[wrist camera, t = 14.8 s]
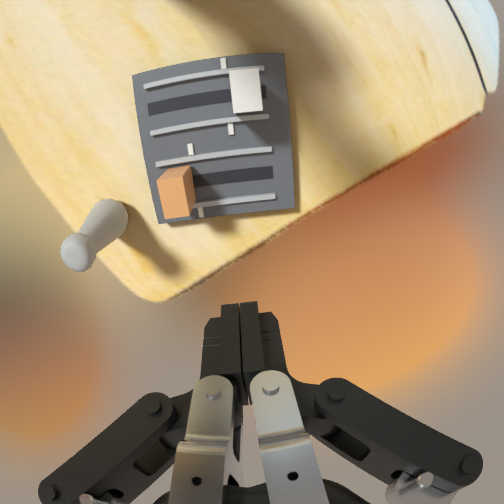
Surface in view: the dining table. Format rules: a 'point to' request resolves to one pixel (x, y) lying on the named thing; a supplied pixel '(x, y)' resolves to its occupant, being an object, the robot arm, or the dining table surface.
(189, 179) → the block
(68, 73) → the dining table surface
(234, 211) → the console
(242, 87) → the fader
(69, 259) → the salt shaker
